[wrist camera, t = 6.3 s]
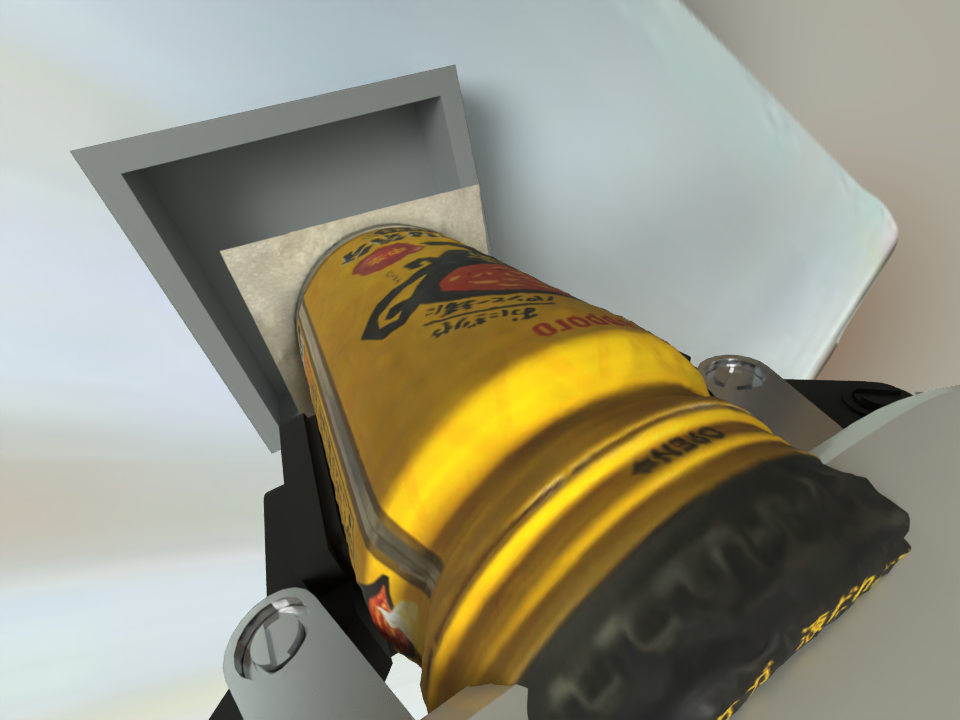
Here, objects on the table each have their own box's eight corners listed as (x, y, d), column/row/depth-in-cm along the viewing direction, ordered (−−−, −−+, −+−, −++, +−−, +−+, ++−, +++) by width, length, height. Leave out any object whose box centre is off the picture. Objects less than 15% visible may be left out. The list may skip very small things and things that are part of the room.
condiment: (476, 183, 13) (1157, 304, 3) (509, 401, 17) (836, 728, 8) (219, 249, 11) (-104, 1300, 1) (334, 480, 15) (480, 1079, 5)
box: (105, 149, 18) (69, 151, 15) (422, 77, 22) (455, 64, 19) (269, 411, 26) (271, 453, 23) (479, 322, 30) (509, 346, 27)
